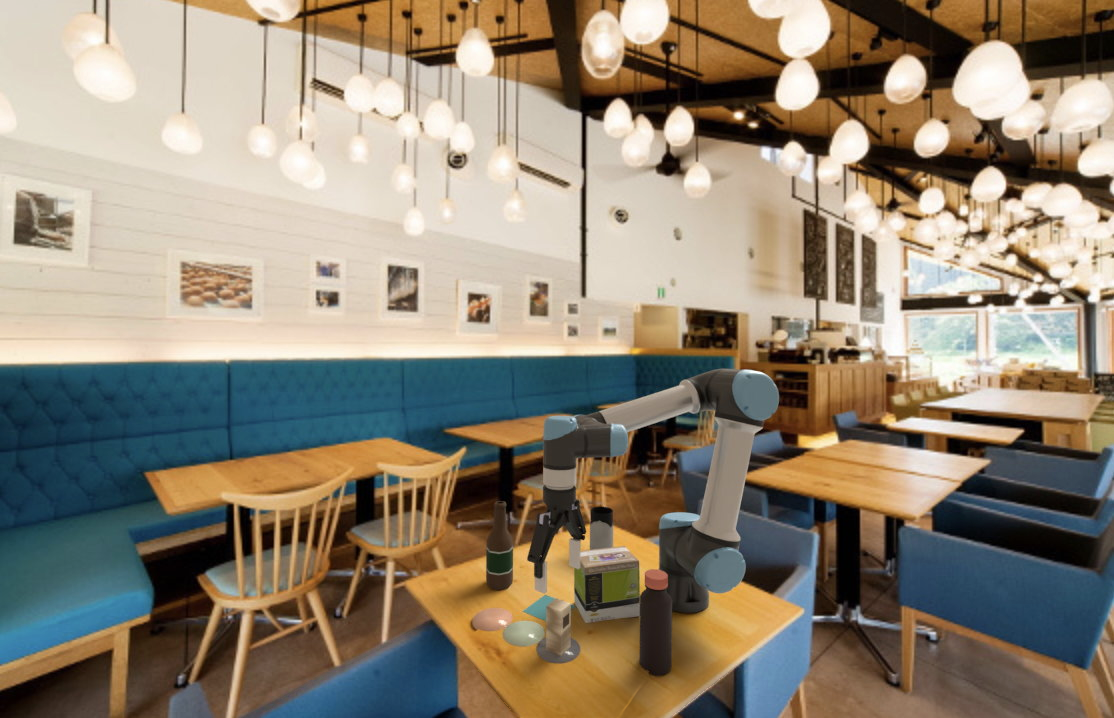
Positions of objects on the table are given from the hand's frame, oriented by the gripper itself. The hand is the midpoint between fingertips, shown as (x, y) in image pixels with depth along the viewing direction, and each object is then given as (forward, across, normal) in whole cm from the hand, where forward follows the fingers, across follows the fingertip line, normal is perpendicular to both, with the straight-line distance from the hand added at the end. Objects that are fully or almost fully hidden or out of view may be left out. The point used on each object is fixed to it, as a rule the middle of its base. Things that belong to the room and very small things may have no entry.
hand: (558, 578), depth 104 cm
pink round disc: (+17, 0, -20) cm, 26 cm away
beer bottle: (+17, -15, -31) cm, 38 cm away
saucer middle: (+17, 0, -10) cm, 19 cm away
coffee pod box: (+17, -21, +1) cm, 27 cm away
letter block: (+16, 0, 0) cm, 16 cm away
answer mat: (+17, -12, -11) cm, 23 cm away
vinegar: (+17, -8, +20) cm, 27 cm away
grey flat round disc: (+17, 0, 0) cm, 17 cm away
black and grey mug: (+17, -52, -17) cm, 57 cm away
